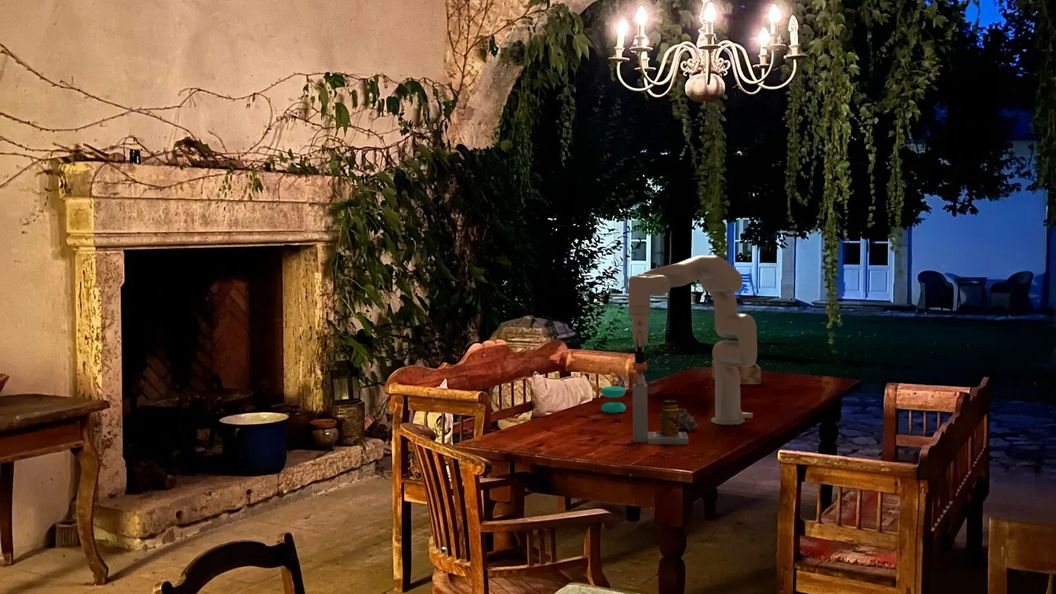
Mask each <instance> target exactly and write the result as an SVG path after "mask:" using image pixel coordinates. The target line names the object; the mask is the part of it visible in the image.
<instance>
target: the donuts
mask: <svg viewBox="0 0 1056 594" xmlns="http://www.w3.org/2000/svg"><path fill="white" fill-rule="evenodd" d="M626 392H627V391H626V389H625V387H623V386H615V385H614V386H612V385H611V386H604V387H603V388H601V392H600V393H601V394H602V395H603V396H604V397H608V398H620V397H623V396H624V395H625V394H626ZM626 409H627V408H626V405H625V404H624V403H622V402H617V401H616V402H615V401H610V402H604V404H602V405H601V411H602V412H603V411H604V412H603V413H606V412H608V413H607V414H619V413H618V412H621V413H623V412H625V411H626Z"/></svg>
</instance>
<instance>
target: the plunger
mask: <svg viewBox="0 0 1056 594" xmlns="http://www.w3.org/2000/svg"><path fill="white" fill-rule="evenodd" d="M632 370H633V371H636V384H637V386H643V384H644V380H643V379H644V376H643V375H644V373H643V371H647V370H648V362H646V361H644V363H635V361H633V362H632Z"/></svg>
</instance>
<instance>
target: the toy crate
mask: <svg viewBox="0 0 1056 594" xmlns="http://www.w3.org/2000/svg"><path fill="white" fill-rule="evenodd" d="M737 369H738V371H739V374H740V384H762V383H761V382H762V379H761V378H762V377H761V375H762V373H761V372H762V371H761V370H762V368H761V367H760V366H759V365H758V364H757V363H756V362H755V363H754V365H753V366H751V367H747V368H737ZM712 377H713V378H714V380H715V366H714V361H713V360H711V378H712Z"/></svg>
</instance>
